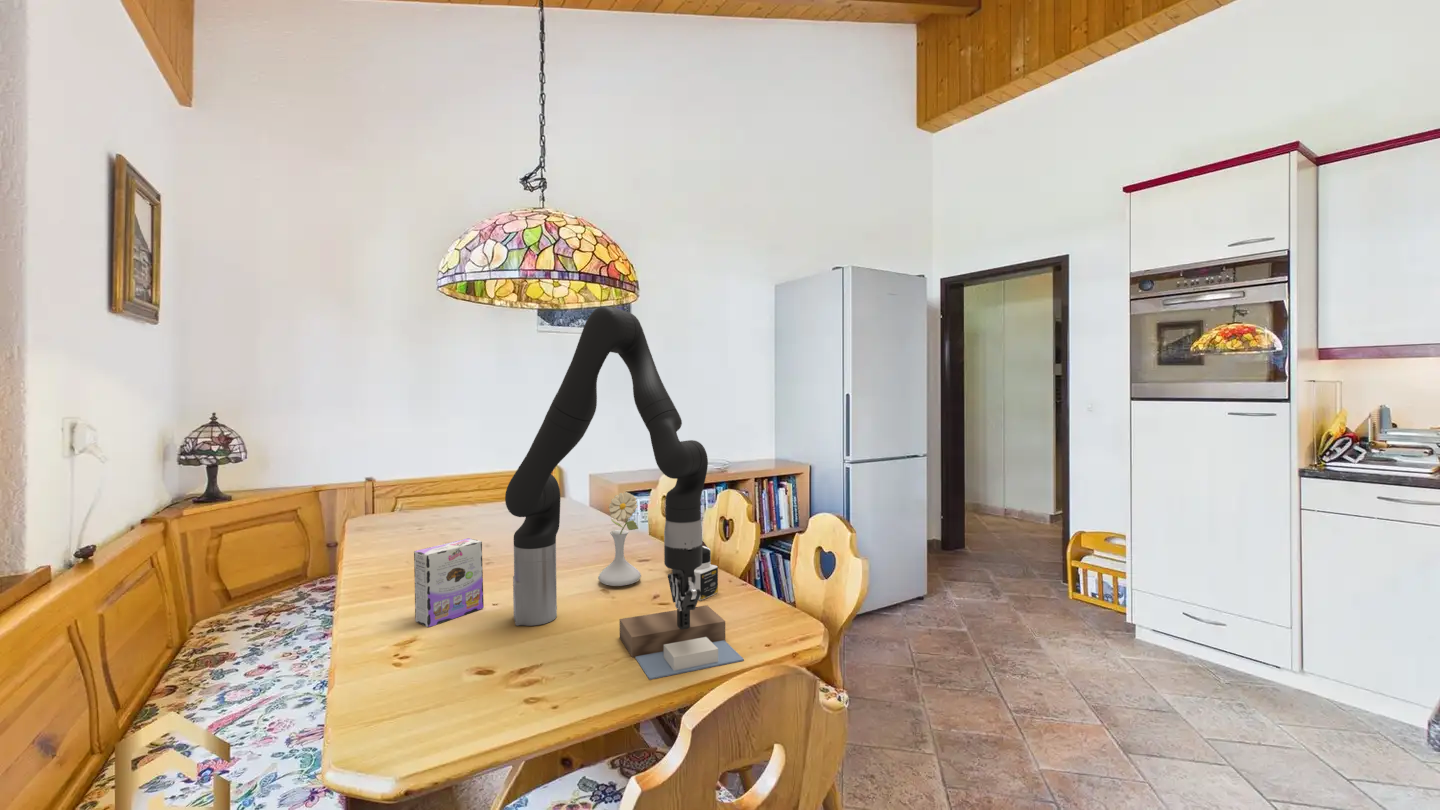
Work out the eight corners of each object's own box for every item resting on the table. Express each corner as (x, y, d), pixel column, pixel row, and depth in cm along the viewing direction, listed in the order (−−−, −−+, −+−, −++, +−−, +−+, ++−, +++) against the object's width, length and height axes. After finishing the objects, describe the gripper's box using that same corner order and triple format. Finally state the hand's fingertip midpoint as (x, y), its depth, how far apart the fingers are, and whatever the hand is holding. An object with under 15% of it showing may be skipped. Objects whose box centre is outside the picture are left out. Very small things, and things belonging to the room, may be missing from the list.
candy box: (470, 603, 147) (469, 536, 147) (484, 609, 144) (483, 540, 143) (414, 622, 136) (412, 549, 136) (428, 628, 133) (426, 554, 132)
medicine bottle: (700, 601, 149) (700, 553, 149) (679, 595, 153) (678, 548, 153) (718, 593, 155) (718, 546, 154) (696, 587, 159) (696, 542, 159)
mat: (649, 679, 109) (649, 678, 109) (635, 657, 118) (635, 656, 118) (743, 660, 117) (743, 659, 117) (724, 641, 126) (724, 640, 126)
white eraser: (663, 644, 118) (663, 657, 118) (673, 657, 112) (673, 670, 112) (706, 636, 121) (706, 649, 121) (718, 648, 116) (718, 661, 116)
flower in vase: (589, 583, 163) (588, 490, 162) (623, 573, 171) (622, 485, 170) (619, 594, 154) (619, 497, 153) (653, 583, 162) (653, 491, 161)
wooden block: (632, 657, 118) (632, 637, 118) (619, 637, 128) (619, 619, 127) (725, 640, 126) (725, 621, 126) (707, 622, 135) (707, 605, 135)
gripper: (655, 535, 124) (655, 619, 125) (676, 552, 112) (676, 644, 113) (689, 532, 127) (689, 613, 128) (713, 547, 115) (713, 637, 116)
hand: (683, 627), depth 120 cm, fingers closed
